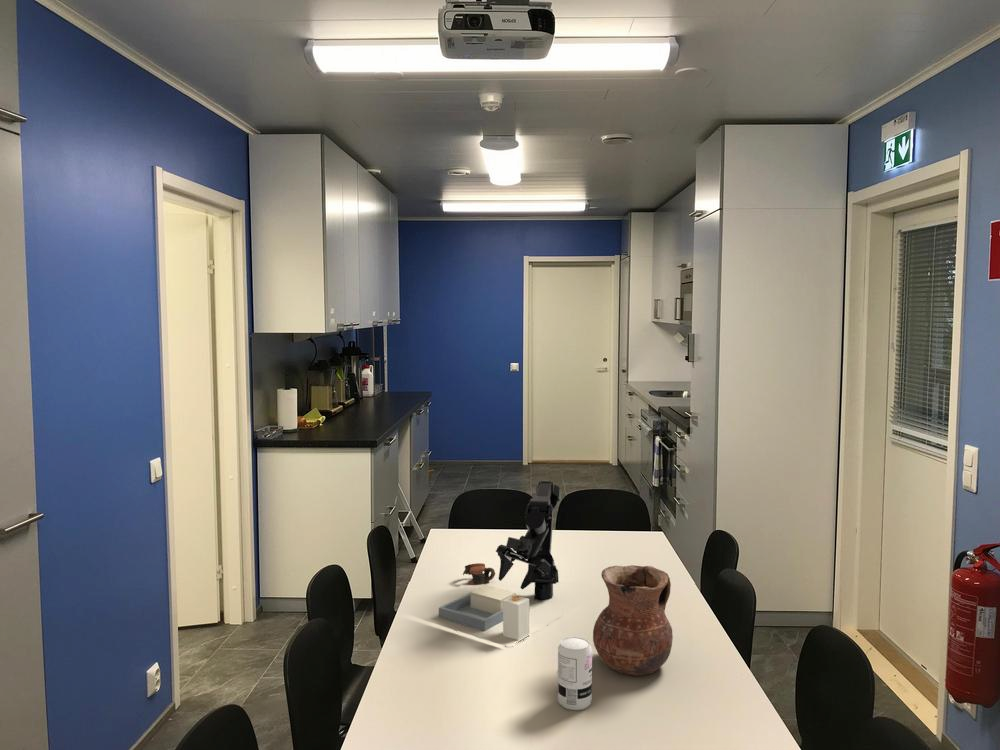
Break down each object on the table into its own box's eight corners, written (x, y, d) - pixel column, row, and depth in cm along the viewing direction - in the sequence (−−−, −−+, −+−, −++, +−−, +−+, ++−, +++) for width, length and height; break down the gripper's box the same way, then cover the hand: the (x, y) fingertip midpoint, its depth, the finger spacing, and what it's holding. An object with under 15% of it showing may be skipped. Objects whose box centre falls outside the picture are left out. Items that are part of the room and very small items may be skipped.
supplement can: (555, 695, 185) (555, 636, 184) (588, 693, 185) (588, 635, 184) (560, 712, 177) (560, 651, 176) (595, 710, 177) (595, 649, 176)
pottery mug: (460, 589, 260) (458, 565, 263) (470, 592, 268) (468, 569, 271) (492, 583, 257) (490, 559, 260) (501, 586, 265) (499, 563, 268)
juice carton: (514, 632, 222) (513, 592, 221) (529, 637, 219) (529, 596, 218) (503, 638, 218) (502, 597, 217) (518, 643, 214) (518, 602, 214)
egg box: (485, 599, 246) (485, 584, 245) (515, 607, 239) (515, 592, 238) (470, 607, 239) (470, 591, 239) (500, 615, 232) (500, 600, 232)
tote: (482, 598, 249) (482, 587, 249) (526, 610, 238) (526, 598, 238) (438, 620, 231) (438, 607, 231) (484, 634, 221) (484, 621, 220)
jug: (655, 691, 186) (656, 593, 185) (579, 670, 198) (579, 578, 196) (683, 657, 205) (684, 568, 203) (613, 640, 216) (613, 556, 215)
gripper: (498, 519, 232) (474, 564, 226) (543, 533, 219) (519, 581, 213) (517, 536, 239) (494, 580, 233) (561, 550, 225) (538, 597, 219)
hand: (510, 584), depth 224 cm, fingers open, 9 cm apart
